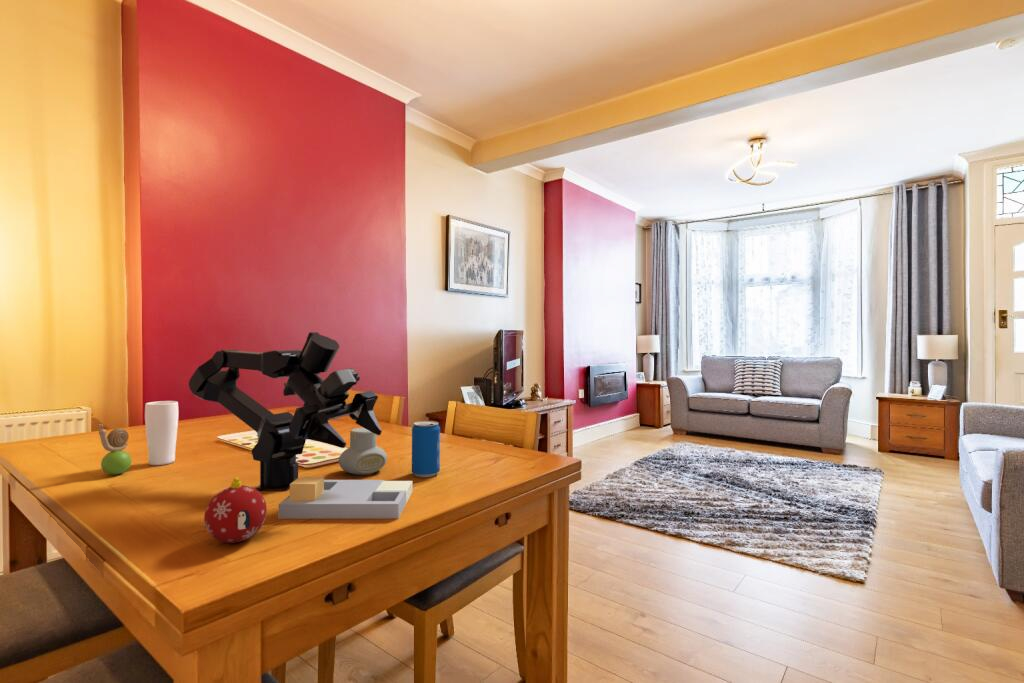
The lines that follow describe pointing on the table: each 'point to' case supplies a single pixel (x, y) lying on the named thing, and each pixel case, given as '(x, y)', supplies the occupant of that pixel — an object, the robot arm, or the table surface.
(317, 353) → the robot arm
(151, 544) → the table surface
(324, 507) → the trap board
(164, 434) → the drinking glass
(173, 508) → the table surface
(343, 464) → the air freshener
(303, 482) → the ochre block
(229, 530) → the christmas ornament
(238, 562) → the table surface
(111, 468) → the snail figurine
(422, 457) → the beverage can
